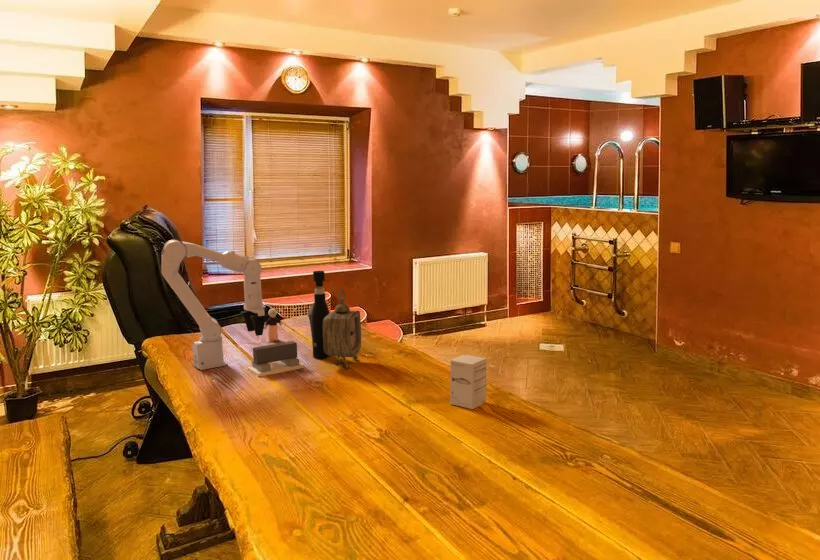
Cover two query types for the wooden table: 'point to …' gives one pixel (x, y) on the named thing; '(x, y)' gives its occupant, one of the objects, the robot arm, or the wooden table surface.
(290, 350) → the handle bar
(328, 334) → the tabletop clock
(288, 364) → the stand
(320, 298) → the wine bottle
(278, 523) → the wooden table surface
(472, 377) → the supplement box
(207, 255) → the robot arm
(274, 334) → the grandmother figurine
